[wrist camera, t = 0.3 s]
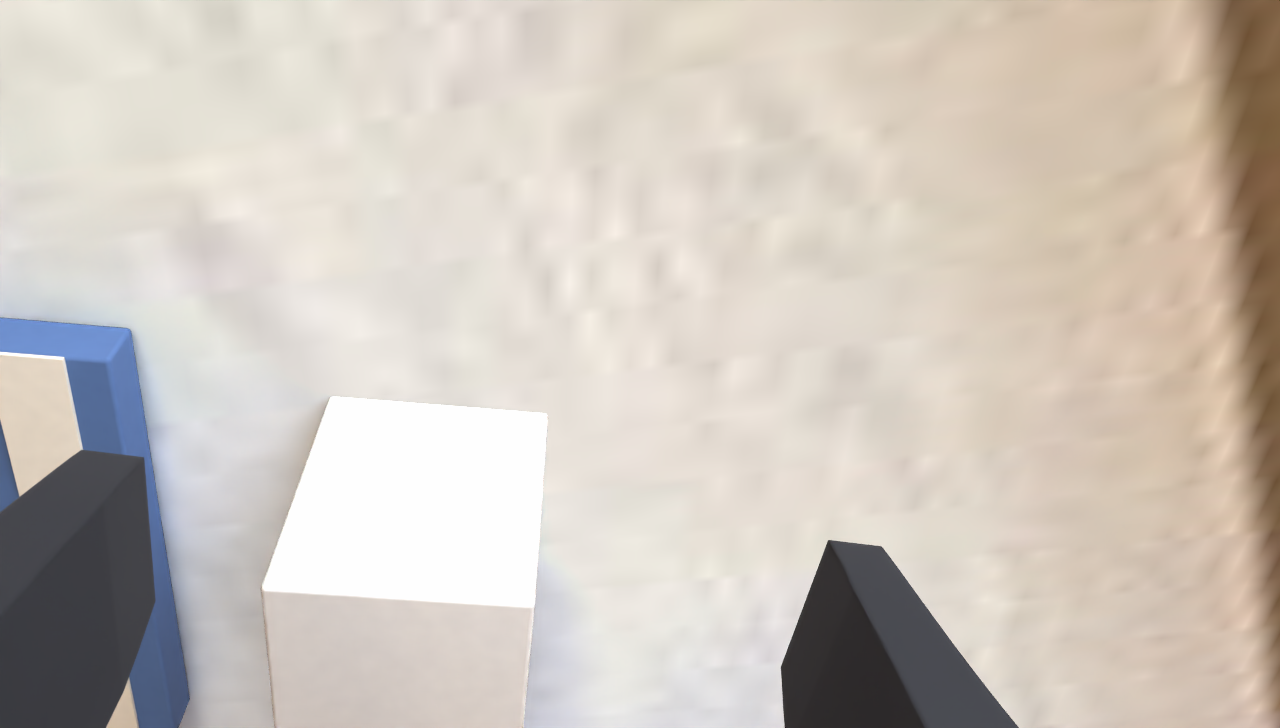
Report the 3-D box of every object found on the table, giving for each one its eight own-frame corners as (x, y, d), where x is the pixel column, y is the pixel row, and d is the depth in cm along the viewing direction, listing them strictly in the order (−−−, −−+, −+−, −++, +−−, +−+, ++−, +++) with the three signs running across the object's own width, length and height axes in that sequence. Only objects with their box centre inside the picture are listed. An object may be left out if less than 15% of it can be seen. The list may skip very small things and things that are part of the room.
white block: (534, 568, 25) (519, 773, 21) (336, 554, 25) (276, 761, 20) (548, 411, 23) (535, 605, 18) (329, 394, 22) (259, 588, 18)
